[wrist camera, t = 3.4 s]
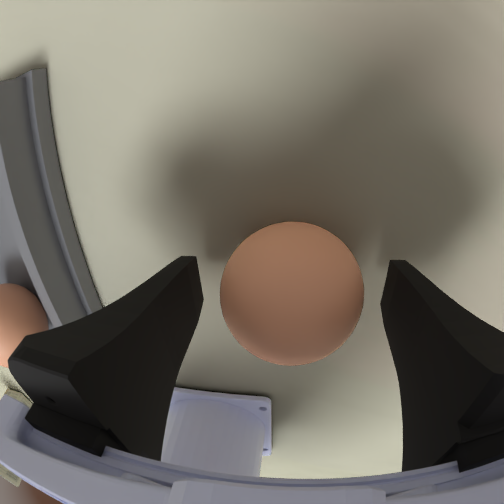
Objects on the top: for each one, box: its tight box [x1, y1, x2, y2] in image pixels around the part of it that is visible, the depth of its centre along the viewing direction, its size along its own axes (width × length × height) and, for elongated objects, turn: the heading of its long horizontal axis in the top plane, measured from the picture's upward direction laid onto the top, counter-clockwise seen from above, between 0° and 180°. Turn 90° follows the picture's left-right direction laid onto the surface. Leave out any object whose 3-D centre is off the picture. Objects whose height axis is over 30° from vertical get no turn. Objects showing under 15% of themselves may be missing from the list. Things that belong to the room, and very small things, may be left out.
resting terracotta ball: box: [0, 283, 49, 368], centre depth 13 cm, size 5×5×5 cm
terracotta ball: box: [220, 222, 364, 366], centre depth 11 cm, size 5×5×5 cm
